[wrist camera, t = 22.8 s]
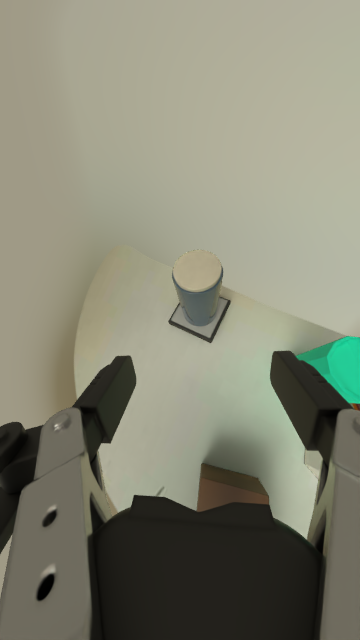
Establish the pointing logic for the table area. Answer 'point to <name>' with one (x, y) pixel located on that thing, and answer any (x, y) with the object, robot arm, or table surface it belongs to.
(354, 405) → the pill bottle
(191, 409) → the table surface
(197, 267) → the canister
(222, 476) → the block
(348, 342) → the candle
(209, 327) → the scale
